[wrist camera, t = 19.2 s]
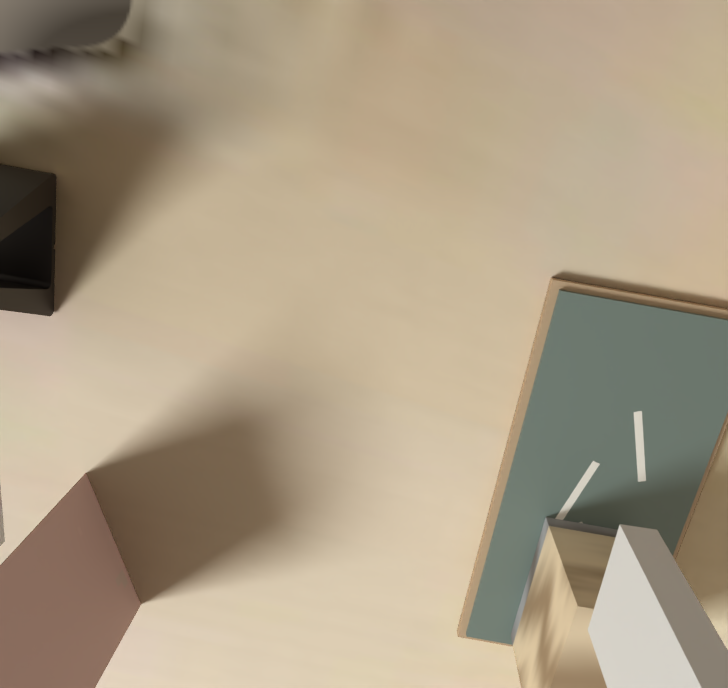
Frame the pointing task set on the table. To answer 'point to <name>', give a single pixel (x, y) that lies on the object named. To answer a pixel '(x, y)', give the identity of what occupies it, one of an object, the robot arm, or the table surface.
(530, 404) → the chalkboard
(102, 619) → the greeting card
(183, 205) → the table surface
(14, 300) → the phone stand
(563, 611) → the eraser block
